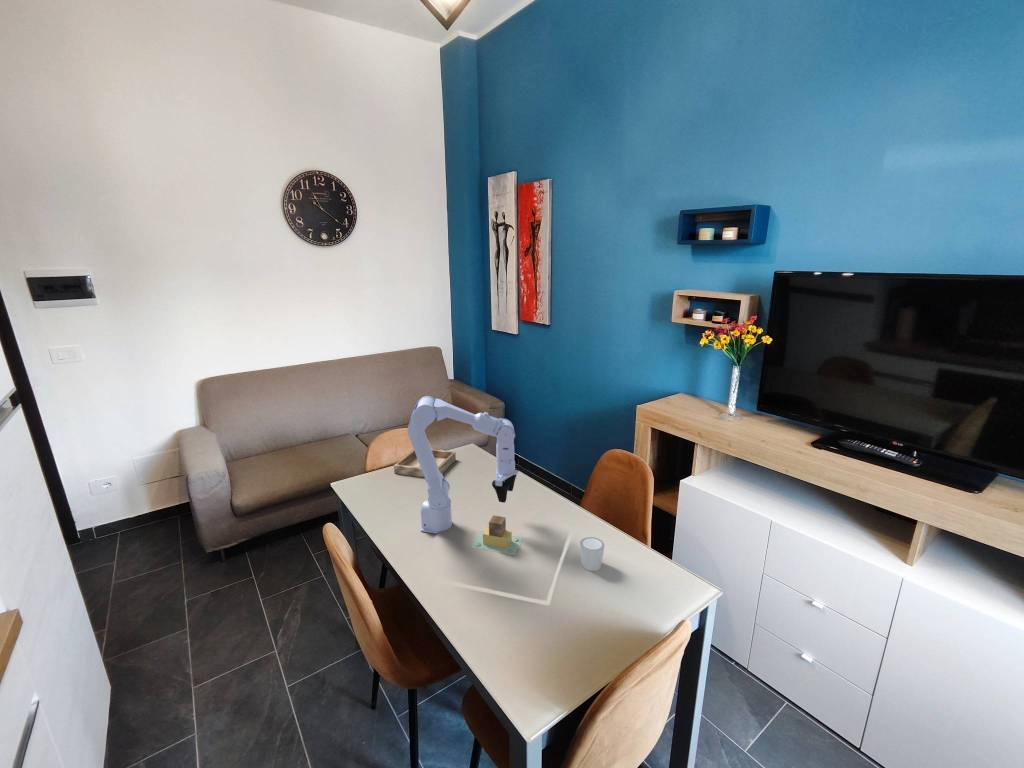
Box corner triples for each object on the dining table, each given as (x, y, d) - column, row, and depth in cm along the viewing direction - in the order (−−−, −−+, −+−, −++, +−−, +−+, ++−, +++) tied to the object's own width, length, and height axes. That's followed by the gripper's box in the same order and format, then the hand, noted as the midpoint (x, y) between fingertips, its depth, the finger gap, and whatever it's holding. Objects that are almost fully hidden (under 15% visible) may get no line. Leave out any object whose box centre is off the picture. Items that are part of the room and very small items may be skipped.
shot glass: (605, 559, 138) (606, 539, 136) (601, 574, 132) (602, 552, 130) (581, 555, 141) (582, 534, 139) (577, 569, 134) (577, 548, 132)
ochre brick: (482, 544, 145) (482, 534, 144) (487, 536, 148) (487, 526, 147) (507, 548, 142) (507, 538, 141) (511, 541, 146) (511, 531, 145)
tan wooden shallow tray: (394, 473, 194) (393, 465, 193) (416, 454, 211) (416, 447, 210) (436, 479, 188) (436, 471, 187) (455, 459, 205) (455, 452, 204)
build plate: (470, 550, 143) (470, 546, 143) (481, 533, 152) (481, 530, 151) (514, 558, 139) (514, 554, 139) (523, 540, 148) (523, 537, 147)
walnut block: (489, 535, 143) (488, 522, 142) (493, 528, 147) (493, 515, 145) (501, 537, 142) (501, 524, 141) (505, 530, 146) (505, 517, 144)
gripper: (510, 469, 143) (511, 509, 146) (523, 450, 156) (523, 487, 160) (488, 466, 145) (489, 505, 148) (503, 447, 158) (503, 484, 162)
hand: (505, 495), depth 154 cm, fingers open, 7 cm apart
